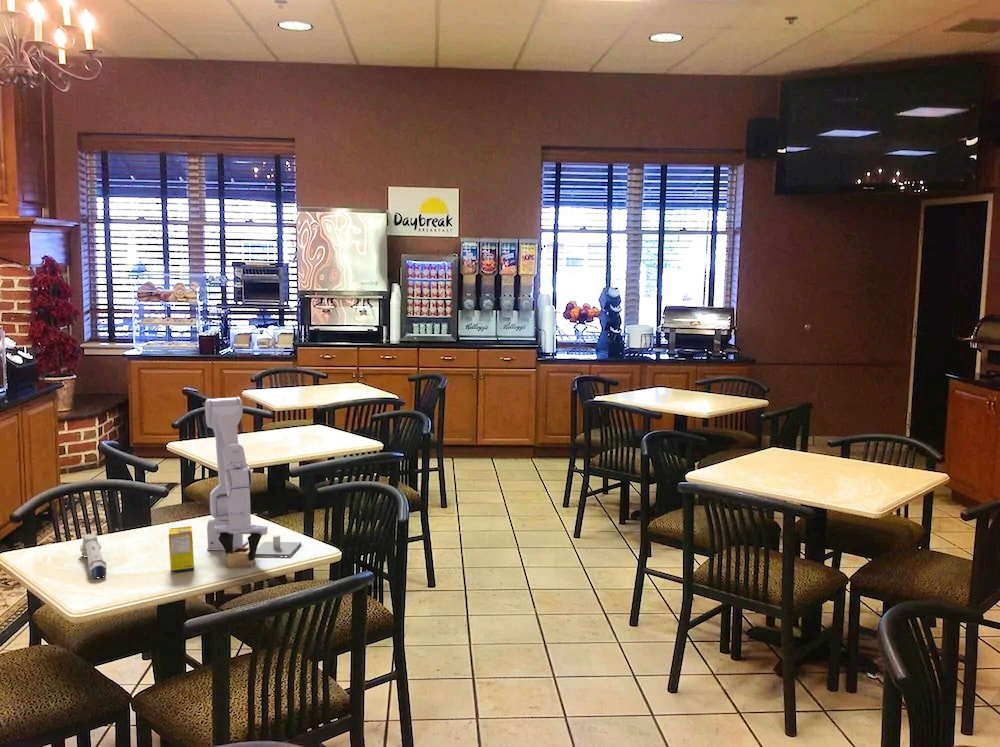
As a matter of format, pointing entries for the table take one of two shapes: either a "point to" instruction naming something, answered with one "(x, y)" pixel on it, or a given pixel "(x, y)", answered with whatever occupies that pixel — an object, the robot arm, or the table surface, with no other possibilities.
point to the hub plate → (277, 548)
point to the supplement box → (181, 549)
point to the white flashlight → (93, 556)
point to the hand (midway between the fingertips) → (241, 559)
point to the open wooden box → (239, 558)
